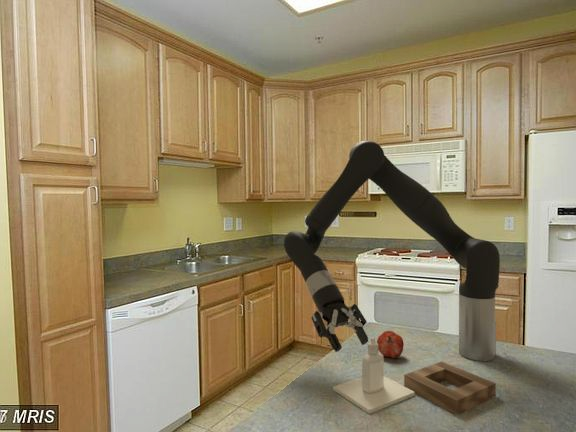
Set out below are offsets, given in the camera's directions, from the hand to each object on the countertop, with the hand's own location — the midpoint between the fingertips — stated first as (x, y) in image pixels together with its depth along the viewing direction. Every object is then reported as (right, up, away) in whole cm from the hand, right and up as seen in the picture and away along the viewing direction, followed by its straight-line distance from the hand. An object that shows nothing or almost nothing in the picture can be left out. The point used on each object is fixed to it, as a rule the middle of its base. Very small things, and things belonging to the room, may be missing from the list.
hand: (352, 346), depth 93 cm
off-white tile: (+4, -9, -6) cm, 11 cm away
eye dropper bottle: (+4, -8, -5) cm, 11 cm away
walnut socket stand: (+21, -9, -6) cm, 24 cm away
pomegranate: (+13, -8, +15) cm, 22 cm away
